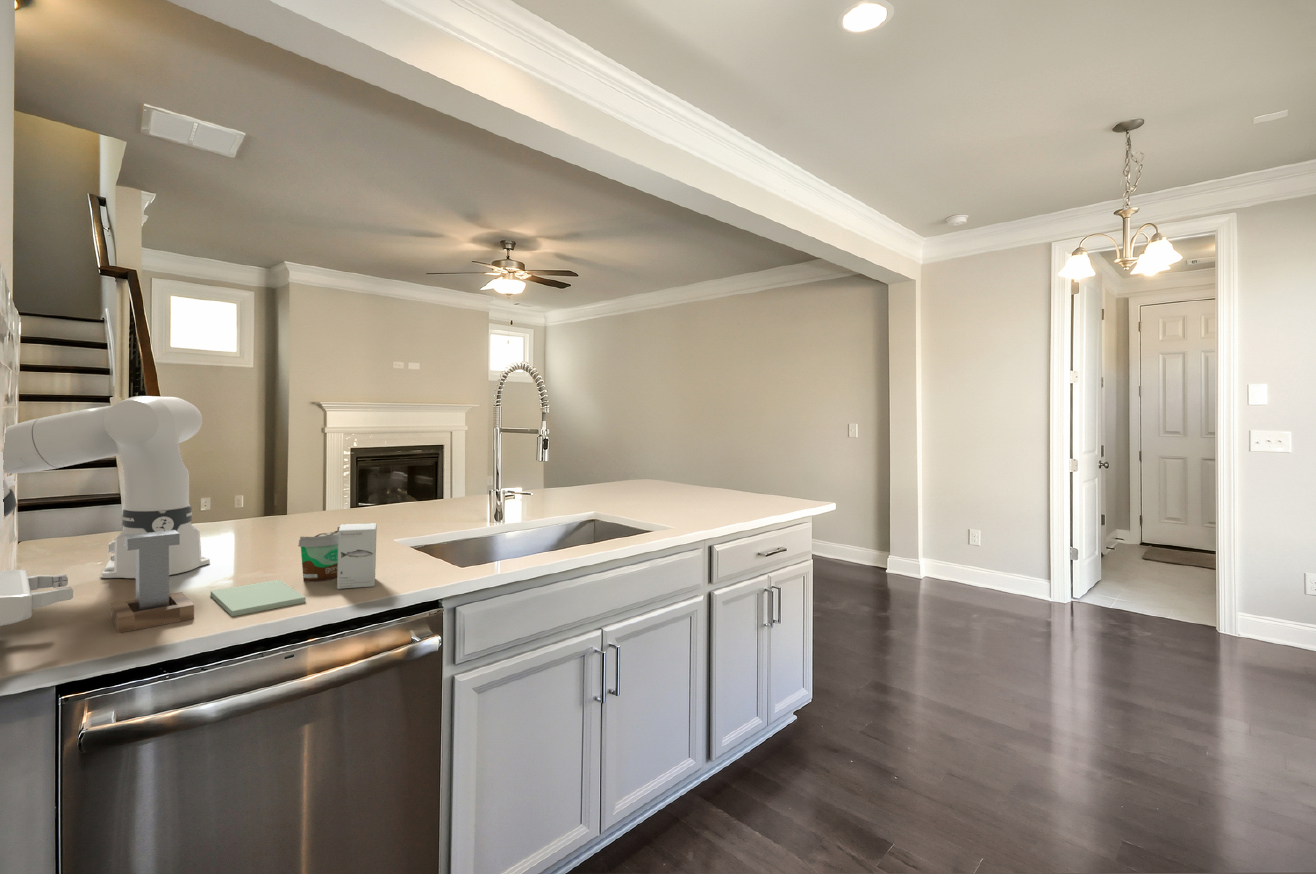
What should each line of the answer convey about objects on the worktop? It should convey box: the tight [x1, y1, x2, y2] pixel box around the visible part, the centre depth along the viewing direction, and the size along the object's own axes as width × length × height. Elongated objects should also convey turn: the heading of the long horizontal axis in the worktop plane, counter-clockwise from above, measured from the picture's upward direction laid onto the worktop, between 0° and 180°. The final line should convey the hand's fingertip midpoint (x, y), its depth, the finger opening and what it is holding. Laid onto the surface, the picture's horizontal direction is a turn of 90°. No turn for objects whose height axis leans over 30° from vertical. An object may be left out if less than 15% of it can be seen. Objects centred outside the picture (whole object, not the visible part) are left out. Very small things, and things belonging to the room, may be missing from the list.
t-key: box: [124, 530, 180, 612], centre depth 107 cm, size 4×7×15 cm, turn 138°
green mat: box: [210, 579, 307, 617], centre depth 119 cm, size 16×12×1 cm
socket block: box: [110, 591, 195, 634], centre depth 107 cm, size 10×10×2 cm
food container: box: [297, 526, 340, 582], centre depth 135 cm, size 12×6×10 cm, turn 168°
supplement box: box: [336, 522, 378, 590], centre depth 130 cm, size 7×7×13 cm
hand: (70, 586), depth 99 cm, fingers open, 8 cm apart
